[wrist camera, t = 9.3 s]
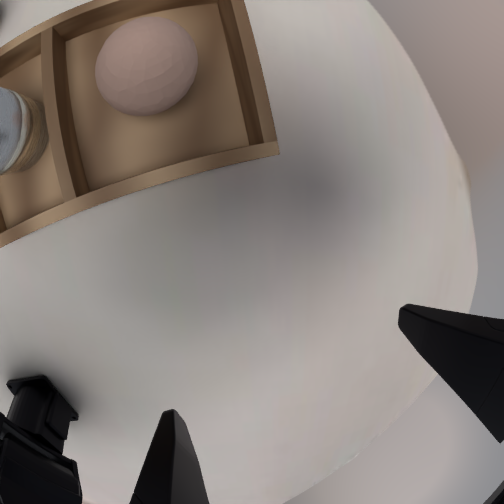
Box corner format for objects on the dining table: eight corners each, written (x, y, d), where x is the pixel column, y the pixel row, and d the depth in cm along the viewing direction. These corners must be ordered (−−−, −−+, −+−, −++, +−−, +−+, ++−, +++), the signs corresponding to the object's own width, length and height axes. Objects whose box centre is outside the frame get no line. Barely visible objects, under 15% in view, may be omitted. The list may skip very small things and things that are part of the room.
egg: (176, 38, 13) (186, -23, 7) (202, 104, 15) (228, 68, 9) (100, 70, 12) (66, 23, 6) (125, 137, 15) (97, 122, 8)
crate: (7, 240, 14) (-16, 256, 11) (-19, 87, 9) (-42, 80, 6) (260, 154, 18) (279, 154, 15) (224, -2, 13) (236, -26, 10)
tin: (3, 184, 12) (-47, 197, 7) (-7, 119, 10) (-55, 113, 5) (57, 155, 13) (13, 155, 8) (47, 87, 11) (5, 64, 6)
